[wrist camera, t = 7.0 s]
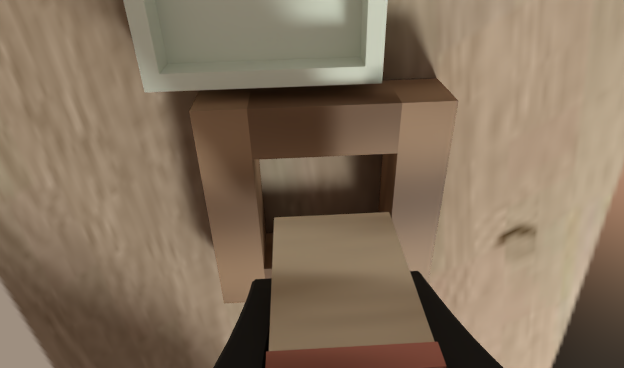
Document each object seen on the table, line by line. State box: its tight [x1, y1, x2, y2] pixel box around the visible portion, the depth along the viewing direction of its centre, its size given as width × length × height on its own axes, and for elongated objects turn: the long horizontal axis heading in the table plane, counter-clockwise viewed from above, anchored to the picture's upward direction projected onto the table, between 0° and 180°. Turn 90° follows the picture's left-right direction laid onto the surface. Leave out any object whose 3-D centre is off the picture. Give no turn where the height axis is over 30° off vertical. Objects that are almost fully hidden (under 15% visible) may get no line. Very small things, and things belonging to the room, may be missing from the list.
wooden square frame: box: [189, 78, 458, 303], centre depth 18 cm, size 9×9×2 cm
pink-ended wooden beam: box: [265, 212, 446, 368], centre depth 12 cm, size 4×4×6 cm
